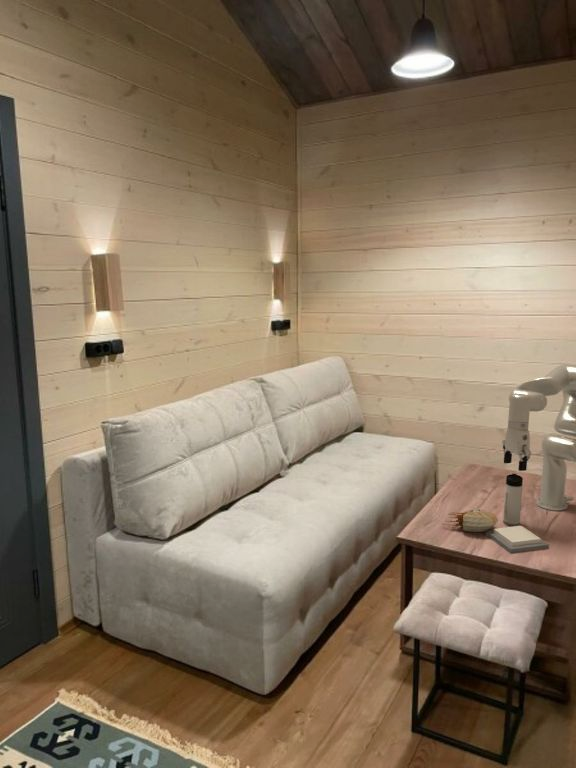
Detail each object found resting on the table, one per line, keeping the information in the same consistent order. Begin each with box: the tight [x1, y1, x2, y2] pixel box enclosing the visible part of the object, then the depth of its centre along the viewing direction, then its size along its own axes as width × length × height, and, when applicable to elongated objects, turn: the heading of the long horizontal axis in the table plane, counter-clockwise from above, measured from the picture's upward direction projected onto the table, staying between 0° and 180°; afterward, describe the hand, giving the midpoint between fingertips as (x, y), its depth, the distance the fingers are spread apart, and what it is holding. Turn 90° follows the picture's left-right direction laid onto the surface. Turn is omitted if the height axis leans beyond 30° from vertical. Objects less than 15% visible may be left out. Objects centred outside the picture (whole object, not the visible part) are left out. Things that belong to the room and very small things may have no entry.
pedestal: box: [485, 525, 550, 554], centre depth 221 cm, size 16×16×3 cm
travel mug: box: [502, 473, 524, 527], centre depth 236 cm, size 6×7×20 cm
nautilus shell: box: [442, 509, 499, 533], centre depth 232 cm, size 8×22×15 cm
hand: (514, 466), depth 233 cm, fingers open, 9 cm apart
